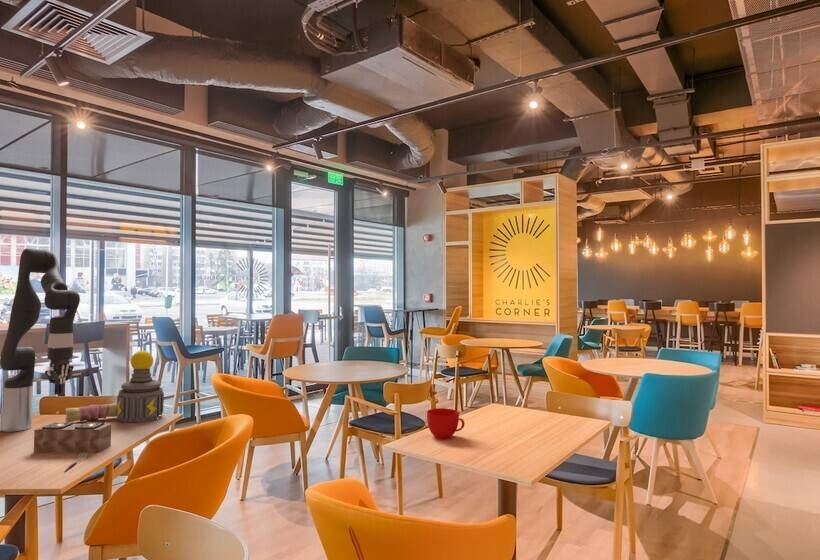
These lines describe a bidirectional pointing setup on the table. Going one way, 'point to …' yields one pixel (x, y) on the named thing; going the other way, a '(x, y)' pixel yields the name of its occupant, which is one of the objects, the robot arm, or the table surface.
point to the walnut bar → (72, 438)
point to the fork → (76, 462)
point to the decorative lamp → (140, 393)
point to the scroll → (91, 412)
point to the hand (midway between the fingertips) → (58, 394)
